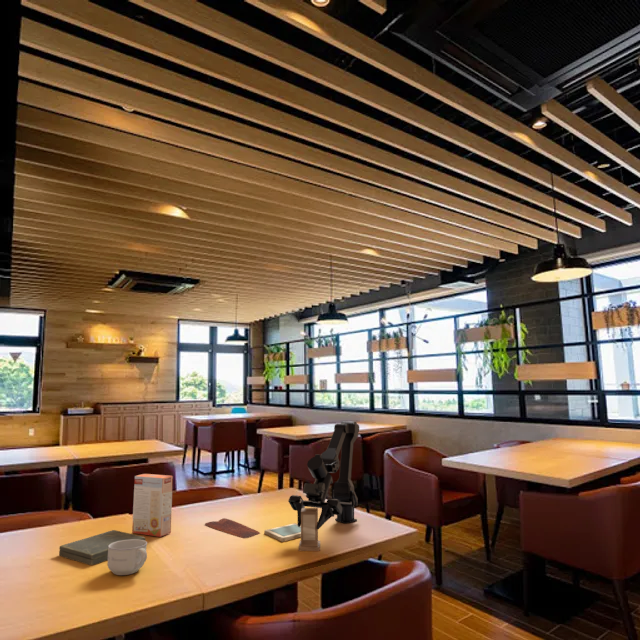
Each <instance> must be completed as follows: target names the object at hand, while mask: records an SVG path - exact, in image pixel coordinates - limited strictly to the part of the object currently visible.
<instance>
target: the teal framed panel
mask: <svg viewBox="0 0 640 640" xmlns="http://www.w3.org/2000/svg"><path fill="white" fill-rule="evenodd" d="M263 531H264V532H263V533H264V534H265V535H266V536H269V537H271V538H273V539H275V540H277V541H280V542H282V543H283V542H289V541H290V540H294V539H298V538H301V525H300V527H298V523H295V522H294V523H289V524H286V525H280V526H277V527H273V528H269V529H264V530H263Z"/></svg>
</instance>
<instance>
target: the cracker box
mask: <svg viewBox="0 0 640 640" xmlns="http://www.w3.org/2000/svg"><path fill="white" fill-rule="evenodd" d="M173 480H174V479H173V475H168V474H166V475H165V474H153V473H152V474H151V473H142V474H138V475H134V482H133V483H134V486H133V488H134V489H133V502H132V503H133V507H132V527H131V528H132V529H131V532H132V533H131V534H135V535H142V536H143V535H144V536H151V537H157V538H162V537H163V536H166V535H169V534H171V532H172V510H173V509H172V506H173V505H172V504H173Z"/></svg>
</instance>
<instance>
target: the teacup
mask: <svg viewBox="0 0 640 640" xmlns="http://www.w3.org/2000/svg"><path fill="white" fill-rule="evenodd" d="M147 545H148V541H146V539H145V540H138V539H131V540H122V541H117V542H114V543H111V544H109V546H108V560H107V569H109V571H111V572H112V574H114V575H117V576H126V575H127V576H128V575H132V574H135V573H137V572H138V571H139V570H140V569H141V568H142V567H143V566H144V565H145V563H146V561H147V558H148V552H147Z"/></svg>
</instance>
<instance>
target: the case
mask: <svg viewBox="0 0 640 640" xmlns="http://www.w3.org/2000/svg"><path fill="white" fill-rule="evenodd" d="M131 539H138V540H145V541H146V537H145V536H143V535H139V534H135V533H130V532H129V533H128V532H123V531H119V530H115V529H114V530H113V529H112V530H109V531H105V532H102V533H99V534H96V535H92V536H90V537H85V538H83V539H82V538H81V539H79V540H75V541H72V542H68V543H65V544H63V545H60V546H59V548H58V549H59V551H58V552H59V553H58V555H59V557H63V558H66V559H69V560H71V561H75V562H79V563H82V564H86V565H89V566H93V565H97V564H101V563H103V562H106V561H108V546H109V544H111V543H114V542H117V541H122V540H131Z"/></svg>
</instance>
